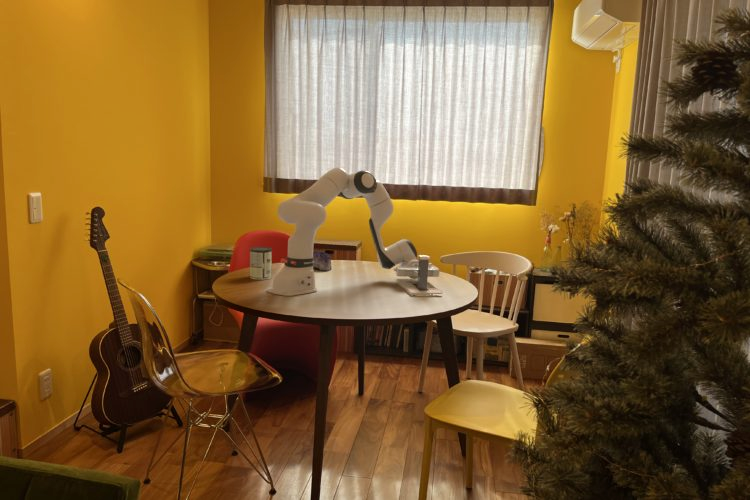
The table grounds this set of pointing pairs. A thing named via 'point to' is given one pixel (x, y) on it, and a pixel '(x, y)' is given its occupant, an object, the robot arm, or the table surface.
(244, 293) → the table surface
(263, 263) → the coffee can
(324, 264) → the geode
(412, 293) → the console
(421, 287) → the fader tab
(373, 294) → the table surface
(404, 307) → the table surface
